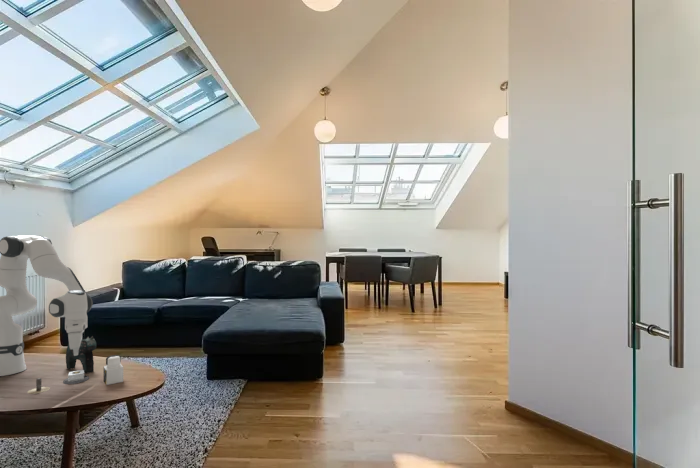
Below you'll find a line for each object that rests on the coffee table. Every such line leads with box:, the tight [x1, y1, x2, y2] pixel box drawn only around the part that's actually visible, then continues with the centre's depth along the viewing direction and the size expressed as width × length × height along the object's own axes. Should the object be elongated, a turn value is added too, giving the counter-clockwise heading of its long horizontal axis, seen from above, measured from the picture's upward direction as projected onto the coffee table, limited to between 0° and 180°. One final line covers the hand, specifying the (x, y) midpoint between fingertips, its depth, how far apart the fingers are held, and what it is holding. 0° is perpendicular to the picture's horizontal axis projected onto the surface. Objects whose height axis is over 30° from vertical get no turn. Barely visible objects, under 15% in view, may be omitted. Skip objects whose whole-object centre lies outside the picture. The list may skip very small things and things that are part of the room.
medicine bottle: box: [103, 354, 124, 386], centre depth 189 cm, size 7×7×12 cm
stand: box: [26, 377, 51, 395], centre depth 176 cm, size 8×8×6 cm
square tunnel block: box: [67, 369, 85, 382], centre depth 189 cm, size 6×6×3 cm
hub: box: [62, 373, 90, 385], centre depth 188 cm, size 10×10×4 cm
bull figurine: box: [65, 331, 97, 374], centre depth 205 cm, size 20×6×20 cm, turn 64°
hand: (76, 354), depth 189 cm, fingers open, 2 cm apart
